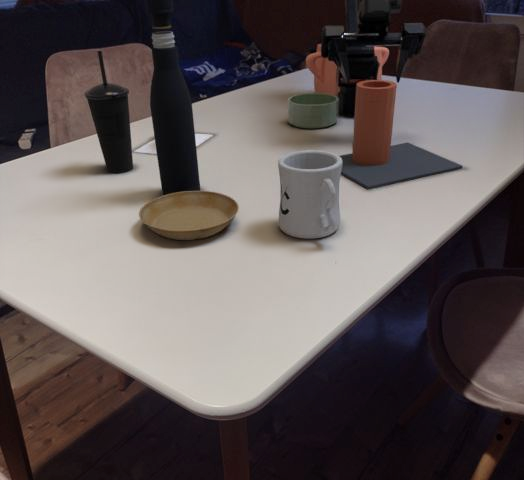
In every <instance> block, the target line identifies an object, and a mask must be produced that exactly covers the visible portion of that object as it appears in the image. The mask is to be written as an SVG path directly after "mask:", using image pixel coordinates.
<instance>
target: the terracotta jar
mask: <svg viewBox="0 0 524 480" xmlns="http://www.w3.org/2000/svg"><path fill="white" fill-rule="evenodd" d="M397 87H398V86H397V82H394V81H393V80H392V81H391V80H385V79H382V80H366V81H361V82H359V83H357V84H356V99H355V116H354V117H353V135H352V138H353V139H352V152H351V153H352V160H353V162H355V163H357V164H361V165H368V166H375V165H382V164H385V163H387V162H388V161H389V158H390V148H391V146H392V139H393V138H392V136H393V129H394V128H393V127H394V117H395V107H396V97H397V96H396V95H397Z"/></svg>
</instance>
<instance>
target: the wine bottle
mask: <svg viewBox="0 0 524 480" xmlns="http://www.w3.org/2000/svg"><path fill="white" fill-rule="evenodd" d="M144 4H145V6H144V7H145V12H146V14H151V23H152V30H154V32H152V33H151V39H152V42H151V43H152V45H153V47H151V56H152V65H153V71H152V77H151V82H150V83H151V84H150V94H149V107H150V108H149V109H150V115H151V122H152V128H153V129H152V130H153V136H154V139H155V144H156V151H157V154H156V158H157V164H158V171H159V172H158V173H159V179H160V186H161V192H162V193H161V194H162V196H164V195H167V194H172V193H177V192H184V191H202V190H201V182H200V181H201V179H200V172H199V163H198V153H197V151H198V150H197V147H196V140H195V133H196V132H195V131H196V130H195V121H194V111H193V101H192V99H191V94H190V91H189V87H188V84H187V82H186V80H185V77H184V73H182V70H181V68H180V61H179V51H178V47H177V46H176V45H175V44H176V41H175V34H174V32H173V31H169V30H170V29H171V28H172V24H171V19H170V13H173V12H174V10H175V9H174V1H173V0H144Z"/></svg>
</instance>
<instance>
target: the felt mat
mask: <svg viewBox="0 0 524 480" xmlns="http://www.w3.org/2000/svg"><path fill="white" fill-rule="evenodd" d="M339 156H340V157H341V158H342V162H343V164H342V170H341V176H344V177H346V178H347V179H349V180H351V181H353V182H354V183H356V184H357V185H359V186H362V187H363V188H364V189H367V190H370V189H375V188H379V187H380V188H381V187H384V186H388V185H394V184H397V183H398V184H399V183H402V182H407V181H412V180H416V179H422V178H425V177H430V176H434V175H438V174H444V173H448V172H452V171H457V170H463V165H462V164H459V163H457V162H455V161H453V160H450V159H448V158H445V157H443V156H440V155H438V154H436V153H434V152H431V151H428V150H427V149H425V148H421V147H419V146H417V145H415V144H412V143H410V142H403V143H399V144H392V145H391V148H390V158H389V161H388V162H387V163H385V164H382V165H375V166H368V165H361V164H357V163H355V162H353V160H352V152H351V153H347V154H342V155H339Z"/></svg>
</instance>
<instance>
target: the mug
mask: <svg viewBox="0 0 524 480" xmlns="http://www.w3.org/2000/svg"><path fill="white" fill-rule="evenodd" d="M340 156H341V155H338V154H336V153H334V152H331V151H326V150H316V149H304V150H297V151H292V152H288V153H285V154H284V155H281V156H280V158H279V159H277V166H278V175H279V182H280V184H279V185H280V196H279V197H280V201H279V208H278V221H277V224H278V227H279V228H280V230H281V231H282V232H283V233H284V234H286V235H287V236H290V237H293V238H298V239H307V240H308V239H320V238H324V237H328V236H330V235H332V234H334V233H335V232H336V231H337V230H338V229H339V227H340V225H341V210H340V181H341V176H342V174H341V170H342V164H343V162H342V158H341V157H340Z"/></svg>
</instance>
